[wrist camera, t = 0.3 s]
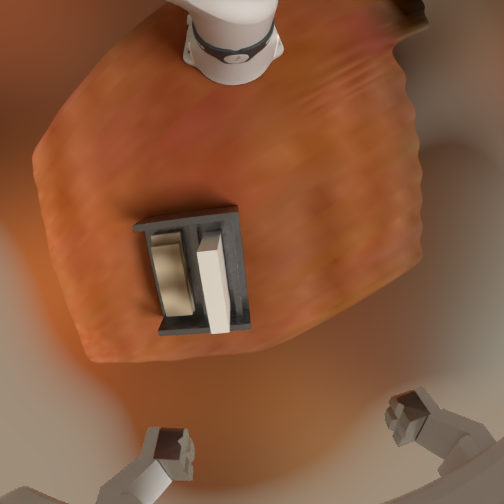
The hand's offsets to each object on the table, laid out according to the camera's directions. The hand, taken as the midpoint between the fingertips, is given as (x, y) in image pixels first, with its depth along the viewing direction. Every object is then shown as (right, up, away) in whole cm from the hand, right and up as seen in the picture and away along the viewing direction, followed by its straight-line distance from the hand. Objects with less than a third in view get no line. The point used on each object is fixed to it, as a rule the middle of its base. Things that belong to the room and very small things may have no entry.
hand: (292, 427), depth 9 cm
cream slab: (-8, +4, +45) cm, 46 cm away
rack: (-12, +4, +46) cm, 48 cm away
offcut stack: (-16, +3, +45) cm, 48 cm away
